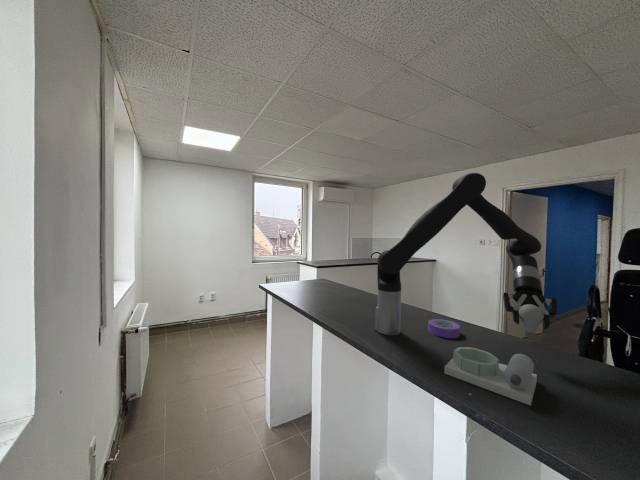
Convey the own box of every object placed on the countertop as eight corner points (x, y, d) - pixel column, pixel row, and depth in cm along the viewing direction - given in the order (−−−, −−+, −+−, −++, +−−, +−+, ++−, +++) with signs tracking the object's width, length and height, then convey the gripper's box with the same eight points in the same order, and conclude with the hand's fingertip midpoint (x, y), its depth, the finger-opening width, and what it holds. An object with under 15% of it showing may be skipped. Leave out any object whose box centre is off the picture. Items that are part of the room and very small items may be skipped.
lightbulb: (536, 337, 81) (538, 303, 81) (546, 344, 76) (548, 308, 75) (514, 334, 83) (515, 301, 83) (522, 341, 78) (523, 306, 77)
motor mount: (444, 373, 72) (444, 349, 72) (459, 357, 82) (460, 335, 82) (530, 405, 58) (531, 375, 58) (536, 381, 68) (537, 356, 68)
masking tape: (464, 339, 97) (464, 329, 97) (432, 337, 98) (432, 327, 98) (453, 328, 108) (453, 320, 108) (424, 326, 110) (425, 318, 110)
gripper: (502, 272, 89) (503, 314, 79) (556, 277, 82) (566, 324, 72) (500, 285, 94) (501, 326, 84) (551, 290, 86) (560, 336, 76)
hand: (531, 325), depth 78 cm, fingers closed on lightbulb, 6 cm apart
